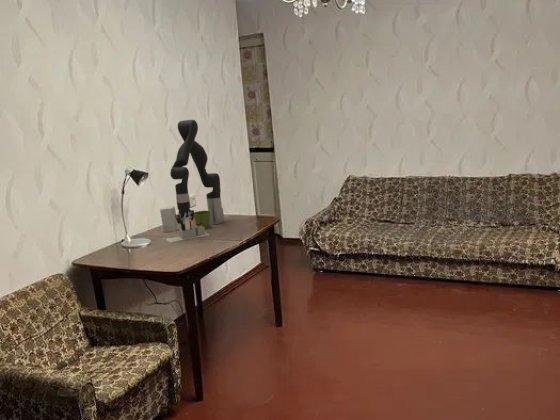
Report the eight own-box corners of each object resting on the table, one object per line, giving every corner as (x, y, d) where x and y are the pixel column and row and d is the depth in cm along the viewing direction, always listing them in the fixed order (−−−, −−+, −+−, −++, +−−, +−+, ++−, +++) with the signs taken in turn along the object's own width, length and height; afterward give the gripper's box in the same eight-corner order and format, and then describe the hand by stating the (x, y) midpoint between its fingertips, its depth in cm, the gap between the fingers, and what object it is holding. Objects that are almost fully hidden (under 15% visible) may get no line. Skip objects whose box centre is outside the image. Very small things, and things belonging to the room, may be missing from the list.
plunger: (202, 232, 320) (201, 221, 318) (204, 233, 316) (203, 222, 315) (196, 233, 318) (195, 222, 317) (198, 235, 314) (196, 224, 313)
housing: (204, 234, 323) (203, 224, 322) (209, 237, 314) (208, 227, 313) (166, 241, 314) (164, 231, 313) (170, 244, 305) (168, 234, 304)
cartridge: (190, 235, 317) (187, 216, 314) (192, 236, 313) (190, 217, 310) (182, 236, 315) (180, 217, 313) (184, 238, 311) (182, 218, 308)
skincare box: (178, 229, 342) (175, 206, 339) (175, 232, 336) (172, 208, 333) (166, 230, 343) (163, 206, 340) (162, 232, 337) (159, 209, 334)
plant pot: (190, 232, 332) (188, 214, 330) (200, 227, 343) (198, 210, 341) (207, 232, 328) (205, 214, 326) (216, 227, 338) (214, 210, 336)
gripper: (178, 203, 302) (182, 232, 305) (196, 198, 313) (199, 226, 316) (169, 203, 306) (173, 231, 309) (187, 198, 317) (190, 225, 321)
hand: (186, 229), depth 313 cm, fingers closed on cartridge, 4 cm apart
